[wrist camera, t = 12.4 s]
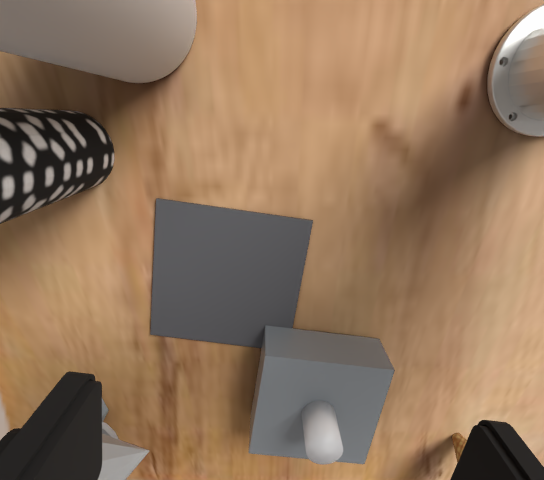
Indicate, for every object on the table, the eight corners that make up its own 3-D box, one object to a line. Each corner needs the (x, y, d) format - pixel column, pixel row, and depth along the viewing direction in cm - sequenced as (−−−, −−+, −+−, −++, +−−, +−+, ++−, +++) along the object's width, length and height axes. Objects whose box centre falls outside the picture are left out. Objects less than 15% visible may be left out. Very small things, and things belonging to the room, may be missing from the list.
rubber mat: (312, 220, 42) (312, 221, 41) (287, 349, 47) (287, 351, 47) (157, 198, 41) (156, 199, 40) (151, 332, 47) (150, 334, 46)
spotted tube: (111, 195, 41) (-28, 263, 22) (36, 179, 40) (-174, 235, 21) (117, 120, 38) (-34, 123, 19) (37, 102, 37) (-201, 86, 18)
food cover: (379, 338, 47) (411, 403, 36) (353, 425, 52) (375, 504, 41) (265, 325, 46) (265, 388, 35) (250, 415, 51) (246, 493, 40)
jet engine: (175, 451, 53) (131, 601, 37) (38, 439, 52) (-69, 588, 36) (177, 369, 48) (129, 499, 32) (27, 355, 48) (-102, 481, 31)
